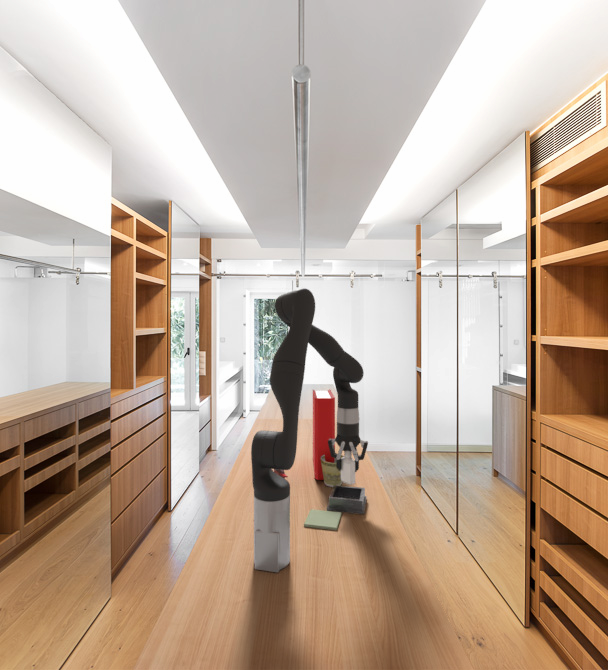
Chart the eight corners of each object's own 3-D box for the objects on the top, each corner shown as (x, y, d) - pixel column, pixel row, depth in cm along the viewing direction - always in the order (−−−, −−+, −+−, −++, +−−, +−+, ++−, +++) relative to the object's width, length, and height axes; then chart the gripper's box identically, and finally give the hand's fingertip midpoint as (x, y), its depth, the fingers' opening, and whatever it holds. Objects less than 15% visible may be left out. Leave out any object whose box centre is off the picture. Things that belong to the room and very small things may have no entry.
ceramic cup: (326, 491, 144) (327, 464, 144) (316, 479, 154) (316, 455, 153) (357, 486, 149) (358, 460, 148) (346, 475, 158) (346, 451, 158)
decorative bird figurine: (277, 476, 159) (277, 451, 159) (291, 493, 142) (291, 465, 142) (270, 477, 158) (270, 452, 158) (284, 494, 141) (284, 466, 141)
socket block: (363, 514, 126) (363, 502, 126) (327, 510, 129) (327, 498, 129) (366, 498, 138) (366, 487, 138) (332, 495, 140) (332, 484, 140)
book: (312, 458, 181) (312, 389, 181) (330, 458, 181) (330, 389, 181) (314, 479, 153) (314, 398, 154) (335, 479, 154) (335, 398, 154)
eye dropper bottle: (343, 485, 130) (343, 449, 130) (340, 479, 135) (340, 444, 135) (356, 485, 130) (356, 449, 130) (352, 478, 136) (352, 444, 136)
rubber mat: (336, 530, 116) (336, 527, 116) (303, 526, 118) (303, 523, 118) (341, 514, 126) (341, 512, 126) (310, 511, 128) (310, 509, 128)
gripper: (325, 421, 131) (324, 472, 131) (368, 424, 127) (368, 476, 127) (328, 417, 138) (328, 465, 138) (370, 419, 135) (369, 468, 135)
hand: (347, 470), depth 133 cm, fingers closed on eye dropper bottle, 4 cm apart
